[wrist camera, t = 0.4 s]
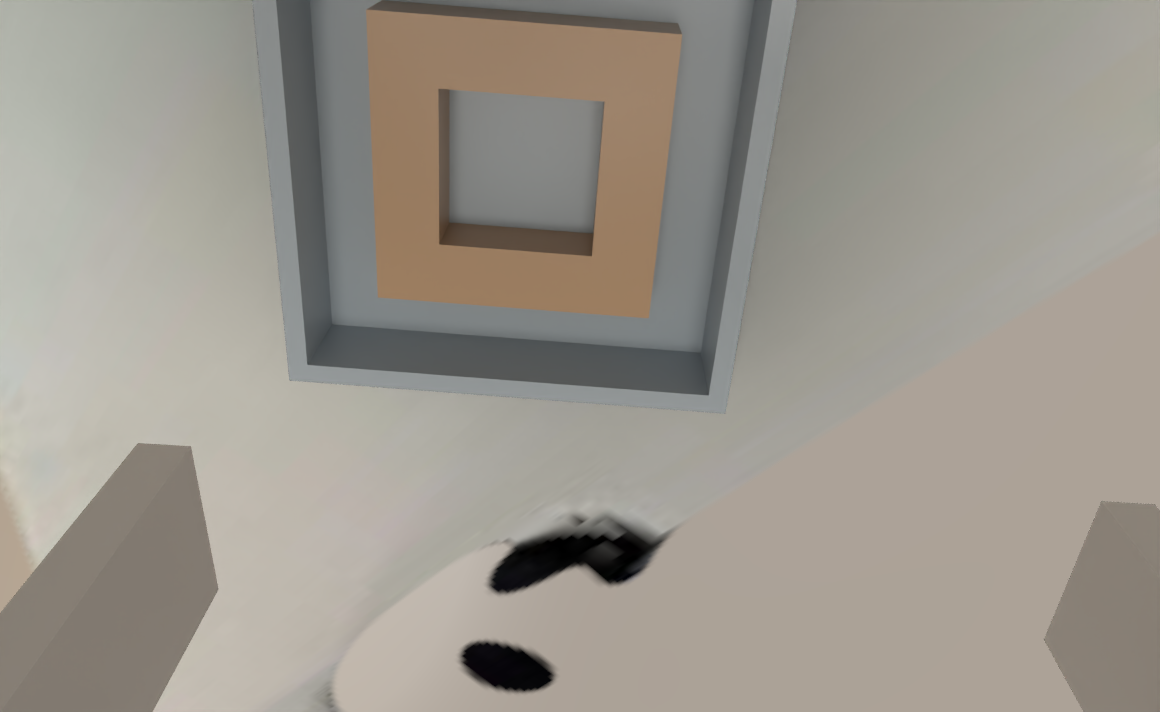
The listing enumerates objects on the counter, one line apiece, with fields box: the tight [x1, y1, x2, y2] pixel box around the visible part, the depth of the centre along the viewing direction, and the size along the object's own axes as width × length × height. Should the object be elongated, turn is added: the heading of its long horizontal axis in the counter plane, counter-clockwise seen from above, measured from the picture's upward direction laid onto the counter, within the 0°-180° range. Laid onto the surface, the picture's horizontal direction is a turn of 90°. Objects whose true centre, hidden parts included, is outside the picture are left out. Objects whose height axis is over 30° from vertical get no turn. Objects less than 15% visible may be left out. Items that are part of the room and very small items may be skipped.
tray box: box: [252, 0, 797, 414], centre depth 35 cm, size 18×18×4 cm
